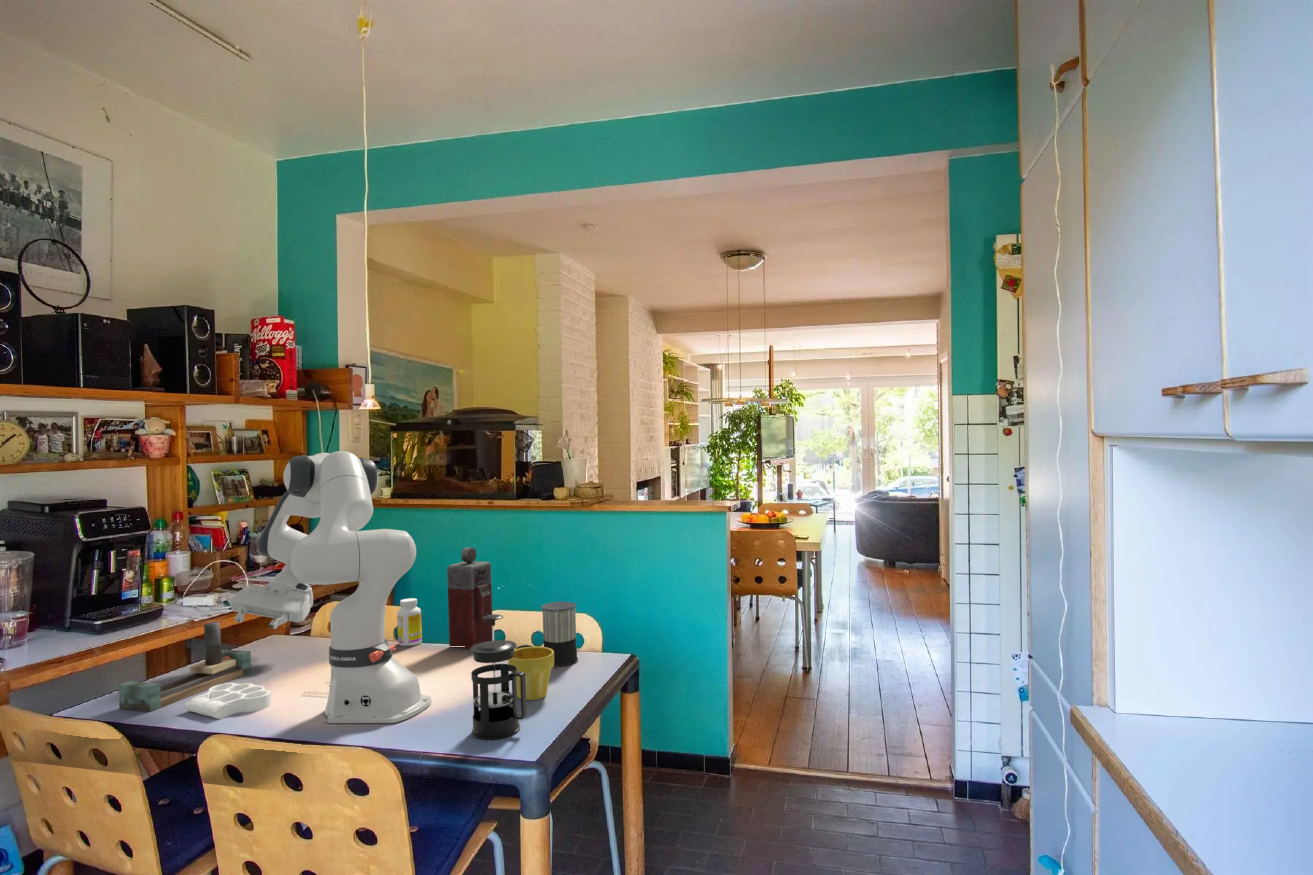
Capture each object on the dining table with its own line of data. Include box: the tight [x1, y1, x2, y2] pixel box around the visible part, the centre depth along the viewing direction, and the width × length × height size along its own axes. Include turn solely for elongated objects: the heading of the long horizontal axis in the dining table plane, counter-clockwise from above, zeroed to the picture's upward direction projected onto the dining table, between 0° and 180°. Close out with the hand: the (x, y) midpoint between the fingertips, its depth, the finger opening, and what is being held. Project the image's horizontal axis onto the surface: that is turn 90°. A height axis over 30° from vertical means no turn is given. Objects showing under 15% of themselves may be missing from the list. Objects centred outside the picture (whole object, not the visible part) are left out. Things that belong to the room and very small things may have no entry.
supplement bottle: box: [396, 597, 423, 647], centre depth 212 cm, size 7×7×13 cm
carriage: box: [189, 621, 236, 674], centre depth 183 cm, size 7×7×12 cm
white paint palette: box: [183, 682, 272, 720], centre depth 164 cm, size 3×18×15 cm
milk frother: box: [514, 601, 579, 667], centre depth 190 cm, size 14×16×15 cm
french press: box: [470, 613, 528, 741], centre depth 145 cm, size 12×9×23 cm
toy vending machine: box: [446, 546, 493, 651], centre depth 208 cm, size 9×11×28 cm
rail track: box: [118, 649, 252, 713], centre depth 177 cm, size 9×28×6 cm, turn 165°
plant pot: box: [507, 646, 555, 701], centre depth 164 cm, size 10×10×10 cm
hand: (254, 623), depth 193 cm, fingers open, 8 cm apart
